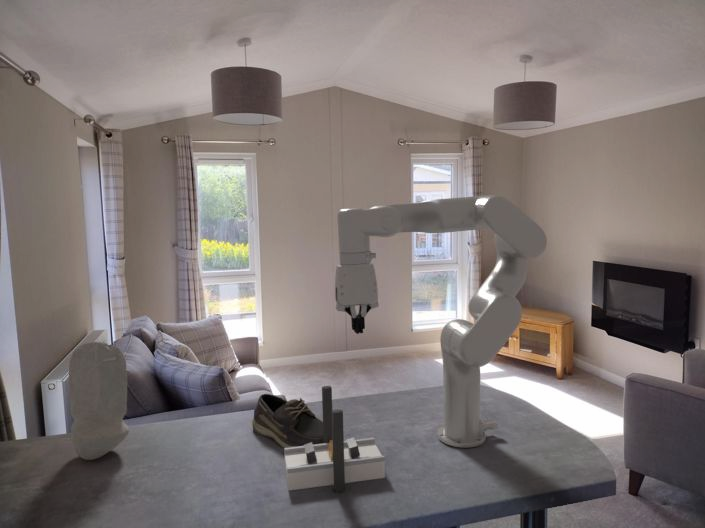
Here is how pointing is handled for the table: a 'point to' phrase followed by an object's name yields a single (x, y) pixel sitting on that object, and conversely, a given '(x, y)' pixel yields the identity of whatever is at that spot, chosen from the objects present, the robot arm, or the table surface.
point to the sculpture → (97, 398)
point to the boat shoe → (287, 421)
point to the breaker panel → (322, 469)
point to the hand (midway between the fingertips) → (358, 332)
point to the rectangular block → (331, 448)
